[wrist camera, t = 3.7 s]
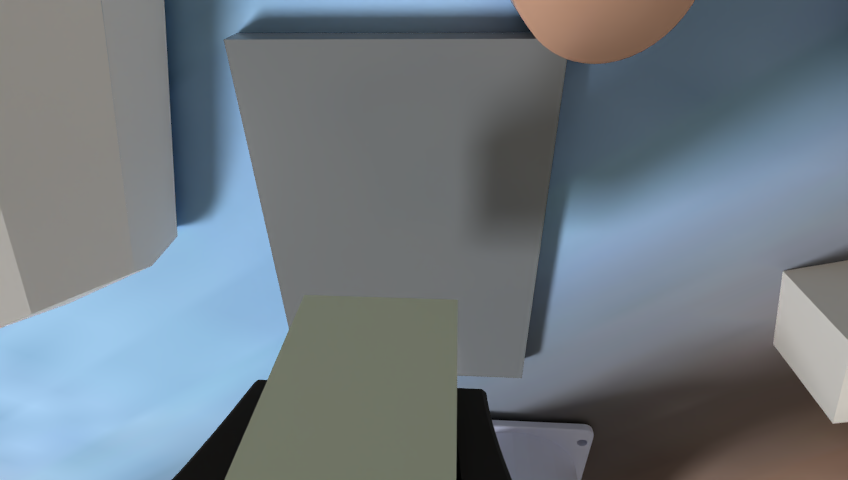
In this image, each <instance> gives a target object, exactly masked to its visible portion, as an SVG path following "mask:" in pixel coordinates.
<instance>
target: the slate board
mask: <svg viewBox="0 0 848 480" xmlns="http://www.w3.org/2000/svg"><path fill="white" fill-rule="evenodd" d="M224 43H225V48H226V52H227V56H228V61H229V65H230V70H231V74H232V78H233V83H234V87H235V92H236V96H237V101H238V105H239V109H240V114H241V118H242V123H243V127H244V132H245V136H246V140H247V145H248V149H249V154H250V158H251V162H252V167H253V171H254V176H255V180H256V185H257V189H258V193H259V198H260V202H261V207H262V211H263V215H264V220H265V224H266V229H267V233H268V238H269V242H270V246H271V251H272V255H273V260H274V264H275V269H276V273H277V277H278V282H279V286H280V291H281V295H282V299H283V304H284V308H285V313H286V317H287V322H288V326H289V329H290V327H291V324H292V322H293V320H294V317H295V315H296V313H297V311H298V308H299V306H300V304H301V301H302V299H303V297H304V295H321V296H353V297H385V298H417V299H449V300H458V322H457V376H481V377H506V378H522V372H523V365H524V358H525V351H526V344H527V337H528V330H529V323H530V316H531V309H532V302H533V295H534V288H535V281H536V274H537V267H538V260H539V253H540V246H541V239H542V232H543V225H544V218H545V211H546V204H547V197H548V189H549V182H550V175H551V168H552V161H553V154H554V147H555V140H556V133H557V126H558V119H559V112H560V105H561V98H562V91H563V84H564V77H565V70H566V63H567V59H565V58H563V57H561V56H559V55H557V54H555V53H553V52H551V51H550V50H549V49H547V48H546V47H545V46H543V45H542V44H541V43H540V42H539V41H538V40H537V39H536V37H535V36H534V35H533V34H532V32H463V33H236V34H234V35H232V36H230V37H228V38H226V39H224Z"/></svg>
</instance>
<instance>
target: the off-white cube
mask: <svg viewBox="0 0 848 480" xmlns="http://www.w3.org/2000/svg"><path fill="white" fill-rule="evenodd" d="M773 345H774V346H775V347H776V349H777V350H778V351H779V353H780V354H781V355H782V357H783V358H784V359H785V361H786V362H787V363H788V365H789V366H790V367H791V368H792V370H793V371H794V372H795V374H796V375H797V376H798V378H799V379H800V380H801V382H802V383H803V384H804V386H805V387H806V388H807V390H808V391H809V392H810V394H811V395H812V396H813V398H814V399H815V400H816V402H817V403H818V404H819V406H820V407H821V408H822V410H823V411H824V412H825V414H826V415H827V416H828V418H829V419H830V420H831V422H832V423H843V422H848V260H846V261H840V262H834V263H828V264H822V265H816V266H810V267H804V268H798V269H792V270H786V271H783V275H782V283H781V290H780V298H779V305H778V312H777V320H776V327H775V335H774V342H773Z"/></svg>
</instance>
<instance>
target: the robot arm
mask: <svg viewBox="0 0 848 480" xmlns="http://www.w3.org/2000/svg"><path fill="white" fill-rule="evenodd" d="M266 382H267V380H257V381H256V382H255V383H254V384H253V385H252V386H251V388H250V389H249V390H248V391H247V393H246V394H245V395H244V396H243V398H242V399H241V400H240V401H239V403H238V404H237V405H236V406H235V408H234V409H233V410H232V411H231V412H230V414H229V415H228V416H227V417H226V419H225V420H224V421H223V422H222V423H221V425H220V426H219V427H218V428H217V429H216V431H215V432H214V433H213V434H212V435H211V436H210V438H209V439H208V440H207V441H206V442H205V443H204V444H203V446H202V447H201V448H200V449H199V450H198V451H197V452H196V454H195V455H194V456H193V457H192V458H191V459H190V460H189V462H188V463H187V464H186V465H185V466H184V467H183V468H182V469H181V471H180V472H179V473H178V474H177V475H176V476H175V477H174V478H173V479H172V480H225V477H226V475H227V473H228V470H229V468H230V466H231V463H232V461H233V459H234V457H235V454H236V452H237V450H238V447H239V445H240V443H241V440H242V438H243V436H244V433H245V431H246V429H247V426H248V424H249V422H250V419H251V417H252V415H253V412H254V410H255V408H256V406H257V403H258V401H259V399H260V396H261V394H262V392H263V389H264V387H265V385H266ZM593 437H594V433H593V429H592V428H591V426H589V425H586V424H573V423H551V422H529V421H507V420H492V419H491V415H490V411H489V406H488V401H487V395H486V392H485V391H483V390H482V389H465V388H457V460H456V480H581V479H582V475H583V472H584V468H585V465H586V461H587V458H588V454H589V451H590V448H591V444H592V441H593Z"/></svg>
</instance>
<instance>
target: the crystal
mask: <svg viewBox="0 0 848 480" xmlns="http://www.w3.org/2000/svg"><path fill="white" fill-rule="evenodd" d="M101 1H102V3H101ZM102 9H103V11H102ZM103 17H104V19H103ZM104 25H105V27H104ZM105 34H106V36H105ZM106 42H107V44H106ZM107 50H108V52H107ZM108 58H109V60H108ZM109 67H110V68H109ZM110 75H111V77H110ZM111 83H112V85H111ZM112 92H113V93H112ZM113 100H114V101H113ZM114 108H115V109H114ZM115 116H116V118H115ZM116 125H117V126H116ZM117 133H118V134H117ZM118 141H119V142H118ZM119 149H120V150H119ZM120 158H121V159H120ZM121 166H122V167H121ZM122 174H123V175H122ZM124 191H125V192H124ZM125 199H126V200H125ZM126 207H127V208H126ZM176 237H177V220H176V203H175V185H174V167H173V149H172V131H171V113H170V95H169V77H168V59H167V41H166V23H165V5H164V0H0V328H2V327H4V326H7V325H10V324H13V323H16V322H18V321H21V320H24V319H27V318H29V317H32V316H35V315H38V314H41V313H43V312H46V311H49V310H52V309H54V308H57V307H60V306H63V305H66V304H68V303H71V302H73V301H75V300H77V299H79V298H82V297H84V296H86V295H88V294H90V293H93V292H95V291H97V290H99V289H101V288H104V287H106V286H108V285H110V284H113V283H115V282H117V281H119V280H121V279H124V278H126V277H128V276H130V275H132V274H135V273H137V272H139V271H141V270H143V269H146V268H148V267H150V266H152V265H153V264H154V263H155V261H156V260H157V259H158V258H159V257H160V256H161V254H162V253H163V252H164V251H165V250H166V249H167V248H168V246H169V245H170V244H171V243H172V242H173V241H174V239H175V238H176Z"/></svg>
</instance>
